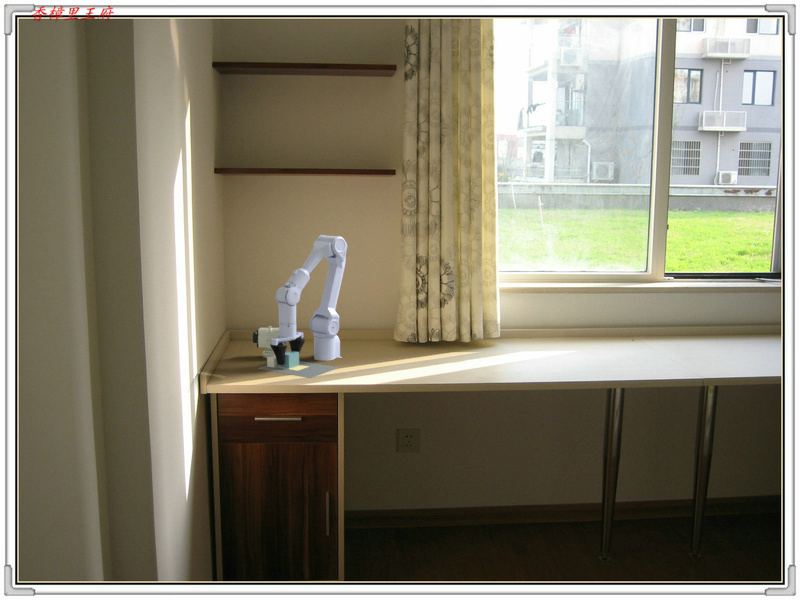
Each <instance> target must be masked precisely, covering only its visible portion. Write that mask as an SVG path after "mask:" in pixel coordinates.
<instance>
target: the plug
mask: <svg viewBox="0 0 800 600" xmlns="http://www.w3.org/2000/svg"><path fill="white" fill-rule="evenodd" d="M299 361H300V354H299V352H295V351H291V350H286V351H285V360H284V365H278V367H282V368H288V369H290V368H293V367H296V366H299Z"/></svg>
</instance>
